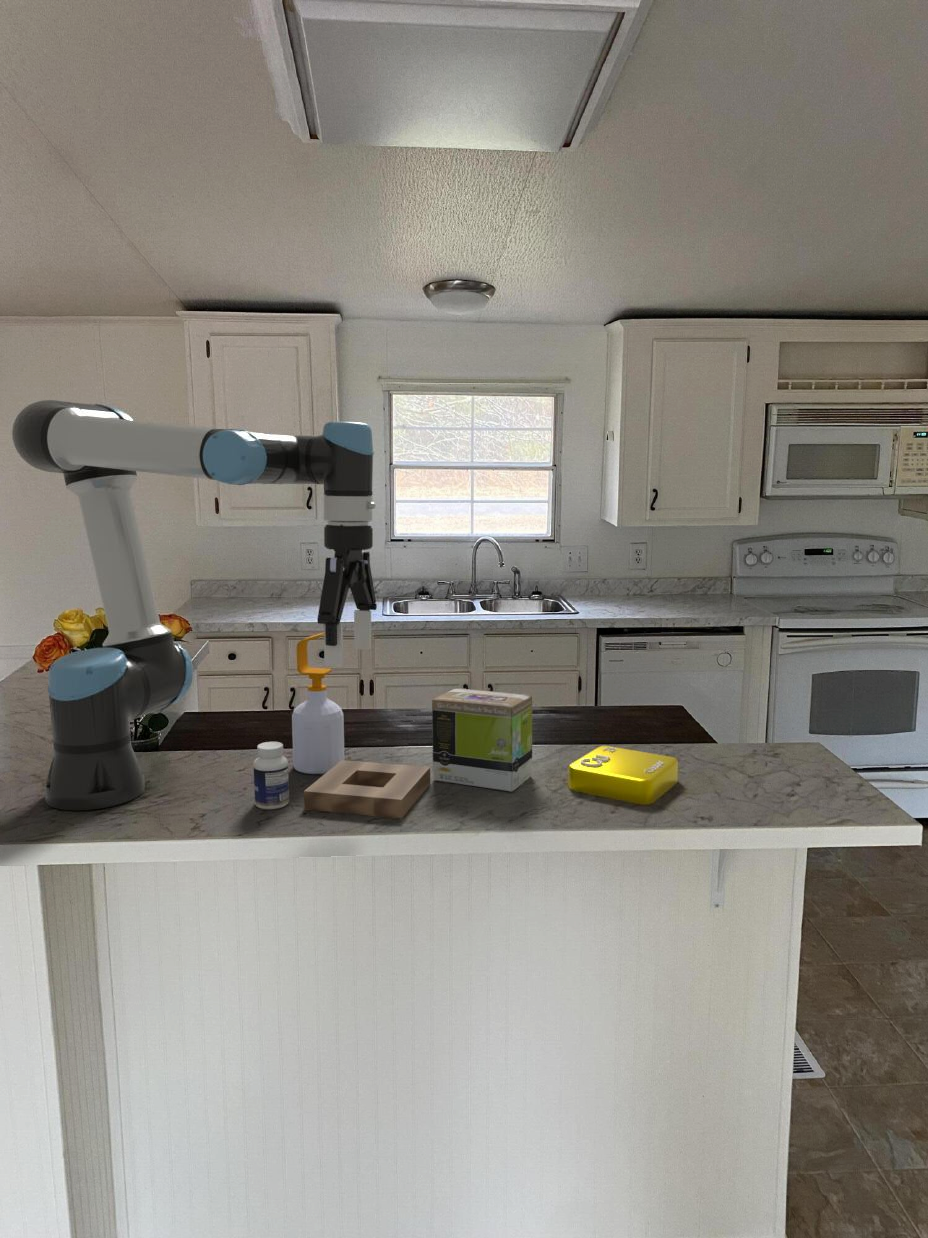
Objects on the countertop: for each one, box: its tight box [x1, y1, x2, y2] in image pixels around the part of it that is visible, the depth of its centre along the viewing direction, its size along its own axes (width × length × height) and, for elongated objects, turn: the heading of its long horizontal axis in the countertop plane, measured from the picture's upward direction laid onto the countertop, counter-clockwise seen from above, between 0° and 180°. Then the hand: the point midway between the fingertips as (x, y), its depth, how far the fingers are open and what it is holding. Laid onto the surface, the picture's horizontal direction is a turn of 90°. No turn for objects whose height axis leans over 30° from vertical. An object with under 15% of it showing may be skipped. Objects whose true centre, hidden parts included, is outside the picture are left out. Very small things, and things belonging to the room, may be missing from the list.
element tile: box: [567, 745, 679, 805], centre depth 150 cm, size 15×15×5 cm
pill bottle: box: [252, 741, 290, 810], centre depth 140 cm, size 5×5×10 cm
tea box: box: [431, 687, 533, 793], centre depth 152 cm, size 15×10×15 cm, turn 65°
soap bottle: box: [291, 632, 345, 775], centre depth 157 cm, size 9×9×25 cm
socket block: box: [303, 759, 431, 819], centre depth 144 cm, size 16×16×3 cm
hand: (348, 657), depth 140 cm, fingers open, 13 cm apart
